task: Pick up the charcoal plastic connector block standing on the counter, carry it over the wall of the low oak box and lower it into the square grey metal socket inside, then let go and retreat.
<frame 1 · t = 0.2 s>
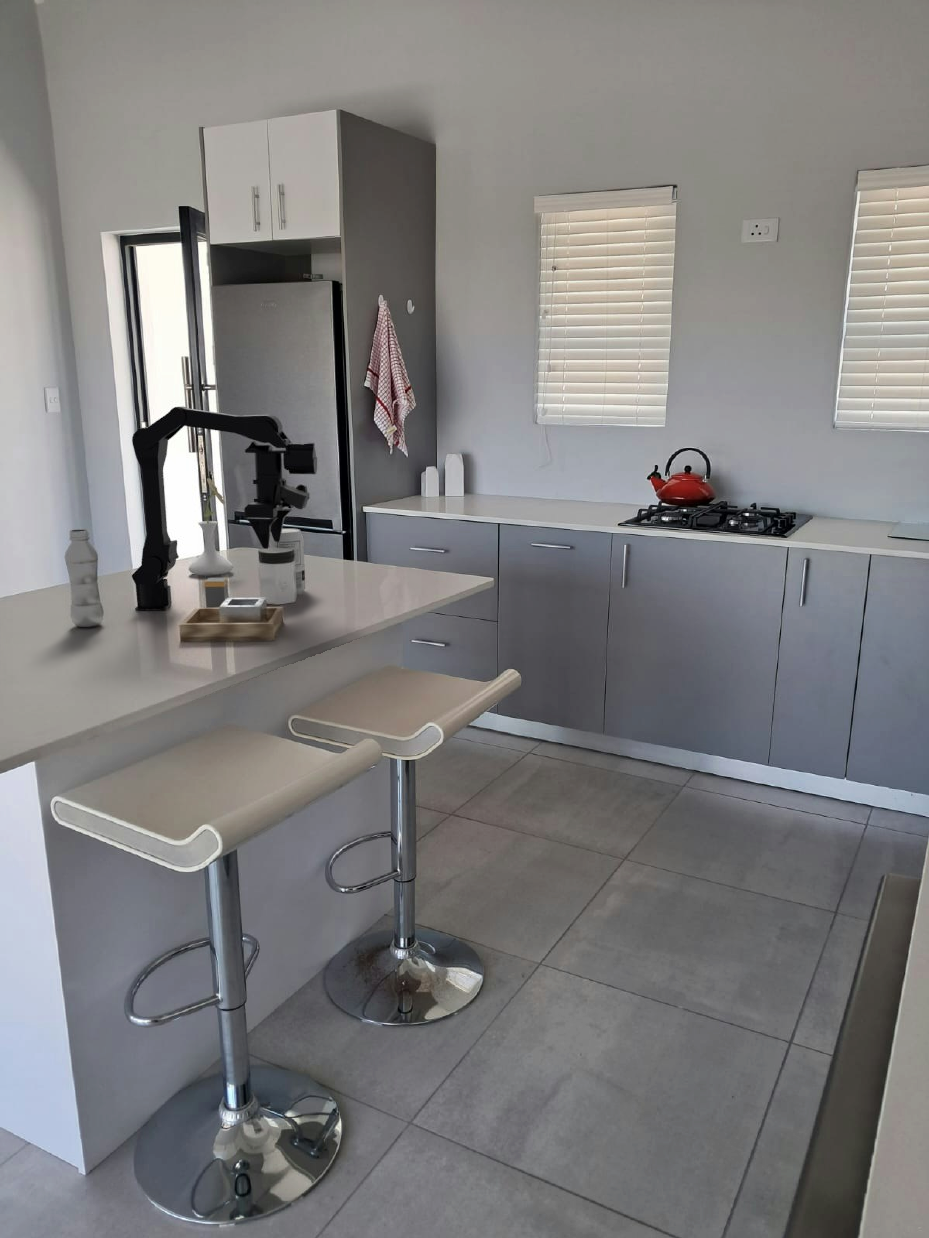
hand: (271, 544, 205), 14 cm above the countertop, tool pointing down, fingers open, 9 cm apart
connector: (218, 615, 201), on the countertop
flower in vase: (212, 574, 245), on the countertop
jar: (278, 601, 215), on the countertop
socket: (244, 630, 189), resting on oak box
oak box: (233, 632, 188), on the countertop
plastic bottle: (88, 627, 192), on the countertop
supplement can: (288, 592, 224), on the countertop
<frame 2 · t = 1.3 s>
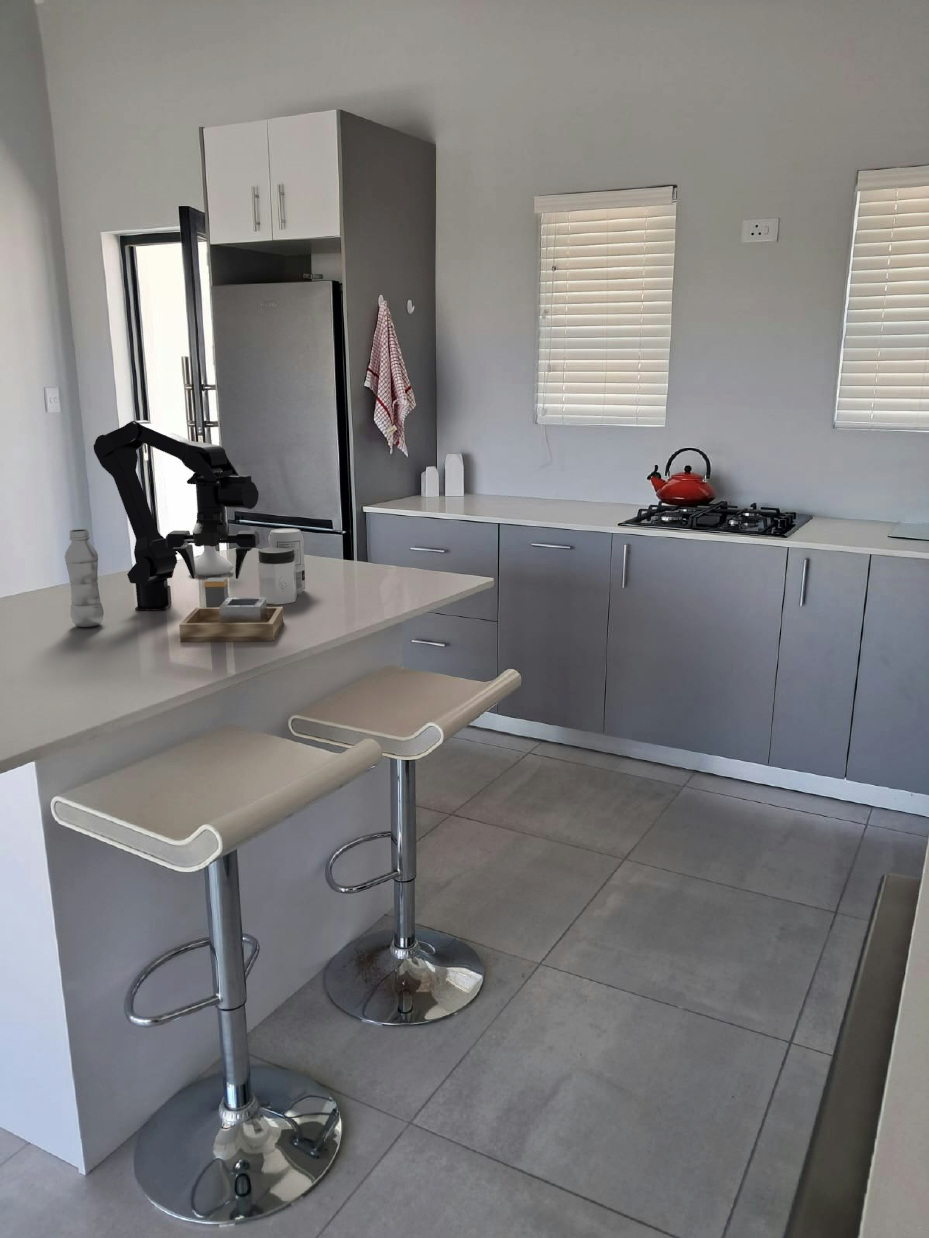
hand: (215, 578, 199), 8 cm above the countertop, tool pointing down, fingers open, 9 cm apart
nothing on the countertop moved.
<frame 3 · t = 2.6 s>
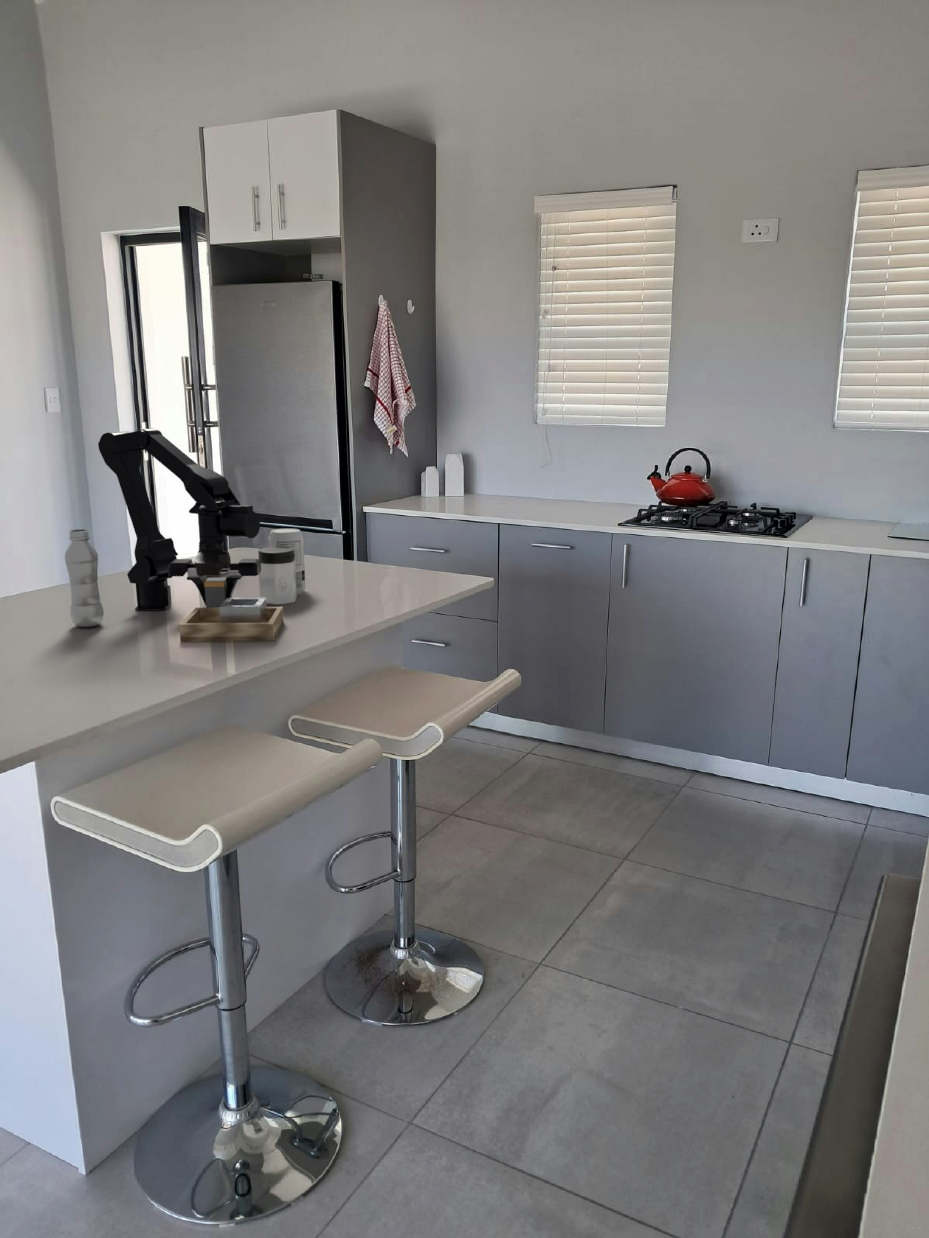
hand: (217, 606, 200), 2 cm above the countertop, tool pointing down, fingers closed on connector, 4 cm apart
connector: (218, 615, 201), on the countertop, touching gripper
everything else where it was.
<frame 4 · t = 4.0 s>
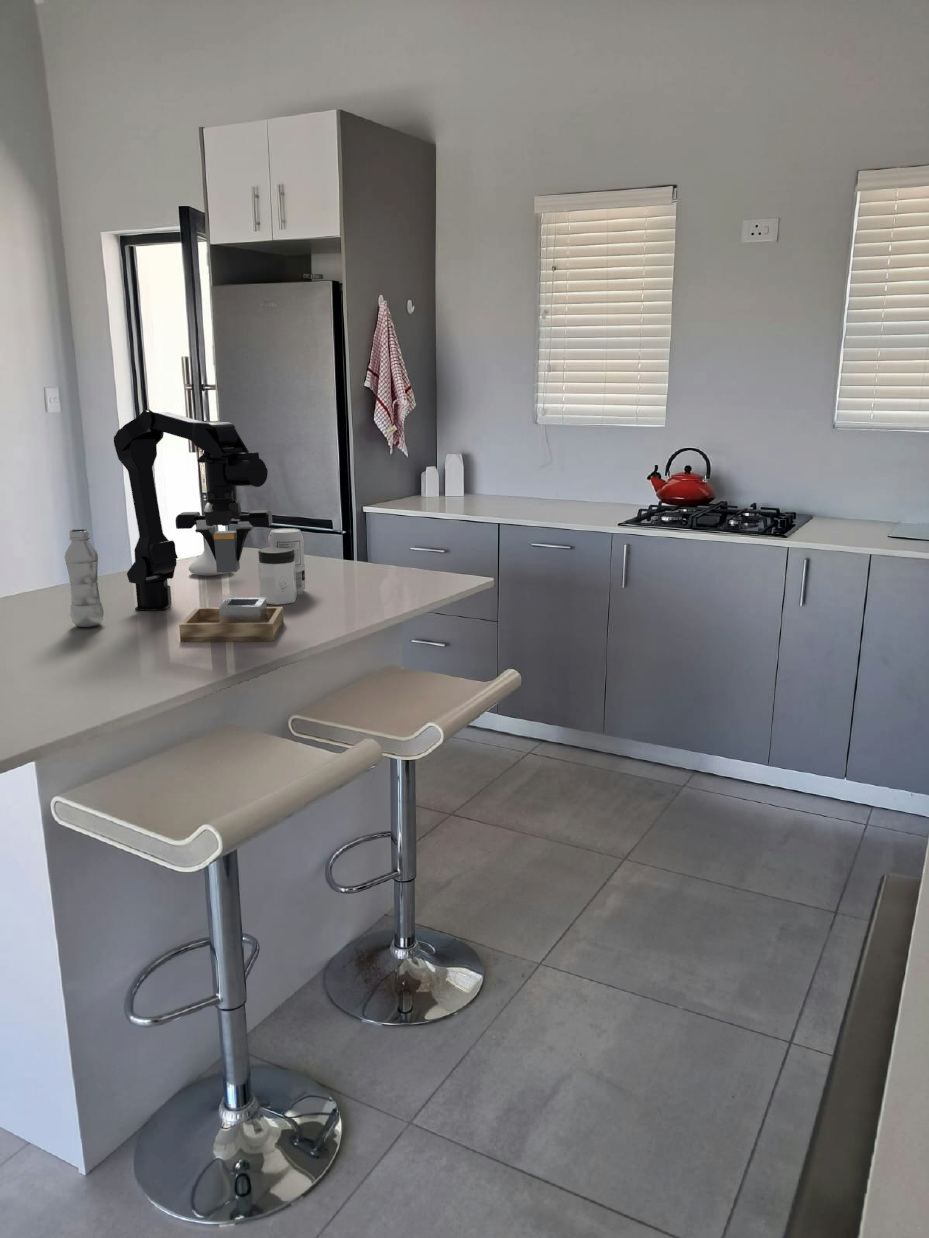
hand: (227, 560, 192), 13 cm above the countertop, tool pointing down, fingers closed on connector, 4 cm apart
connector: (228, 570, 193), point 11 cm above the countertop, touching gripper
everything else where it was.
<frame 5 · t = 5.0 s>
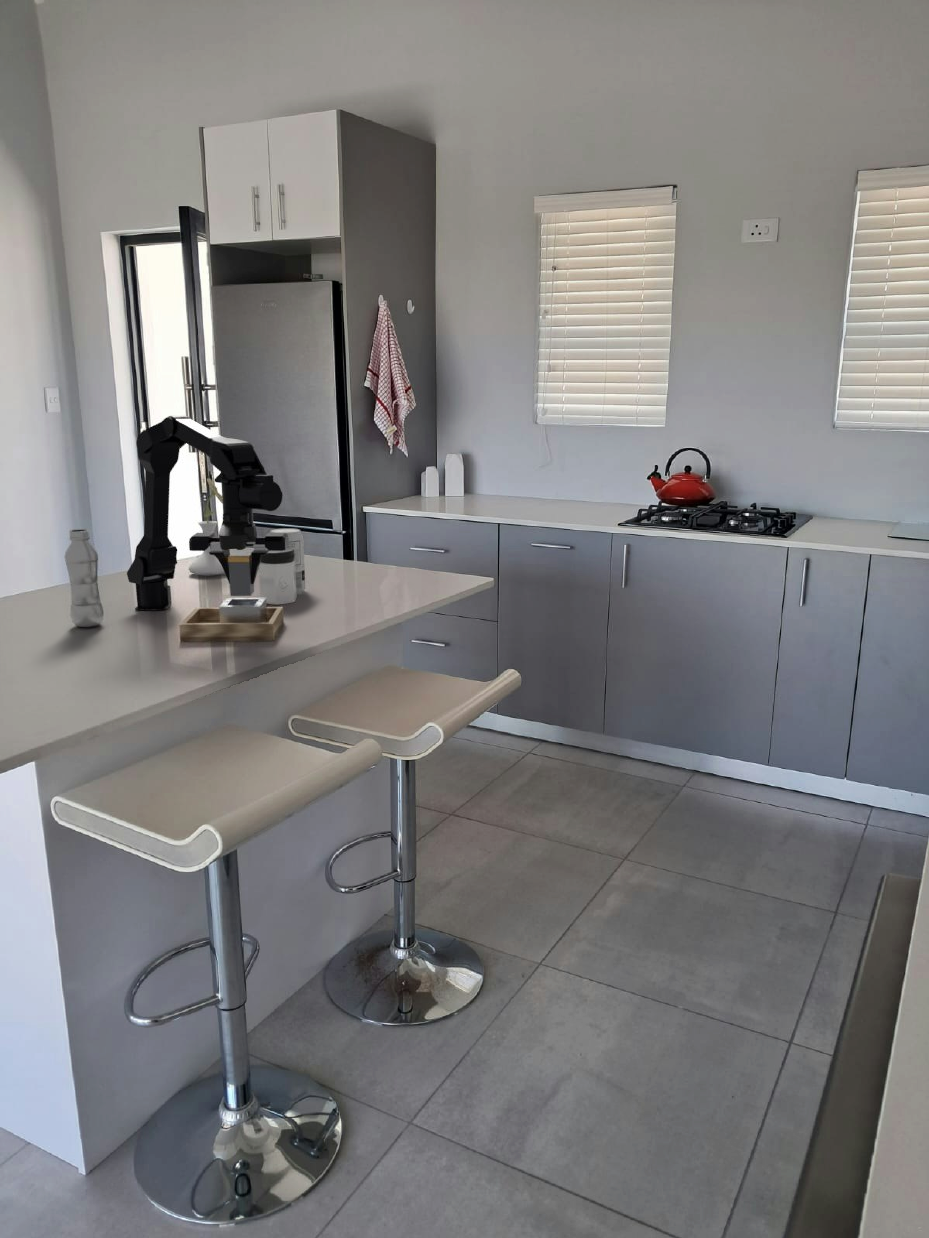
hand: (241, 584, 186), 10 cm above the countertop, tool pointing down, fingers closed on connector, 4 cm apart
connector: (242, 593, 187), point 8 cm above the countertop, touching gripper
everything else where it was.
when the fingers open (6 cm above the countertop, at t = 5.8 s): connector drops 1 cm, resting on socket.
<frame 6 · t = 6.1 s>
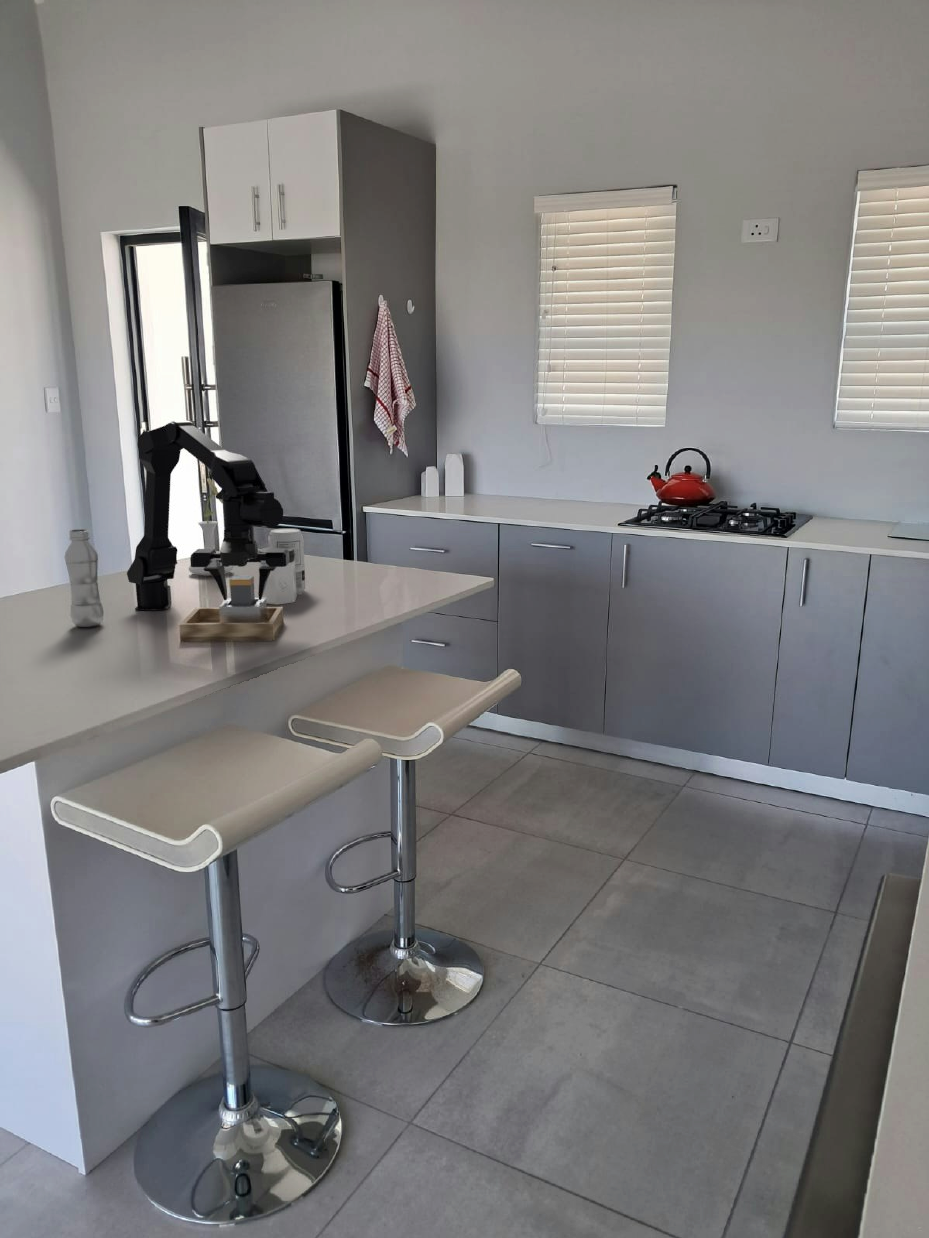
hand: (243, 599, 187), 6 cm above the countertop, tool pointing down, fingers open, 7 cm apart
connector: (243, 616, 188), point 3 cm above the countertop, touching socket
everything else where it was.
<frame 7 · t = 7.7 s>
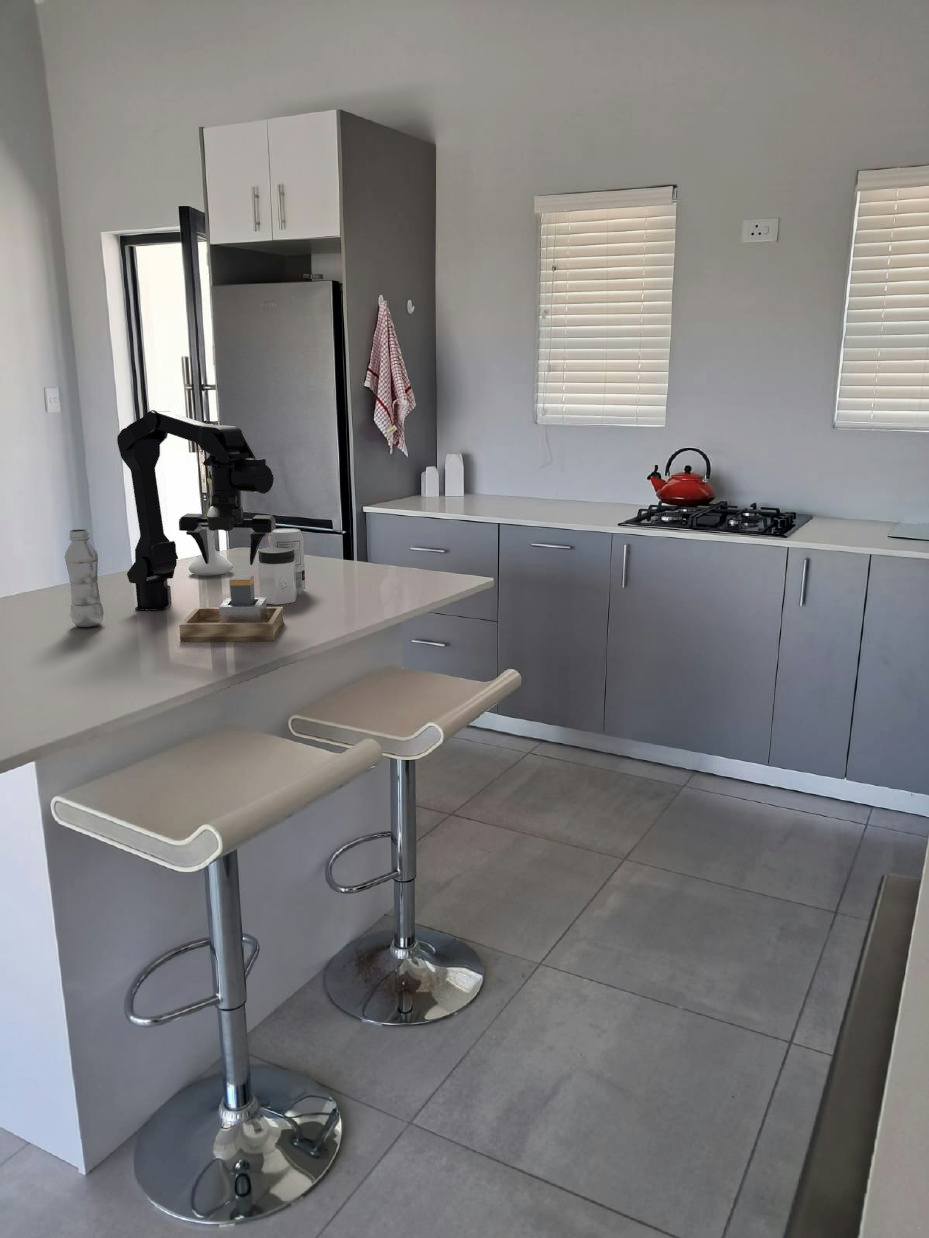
hand: (229, 564, 193), 12 cm above the countertop, tool pointing down, fingers open, 9 cm apart
nothing on the countertop moved.
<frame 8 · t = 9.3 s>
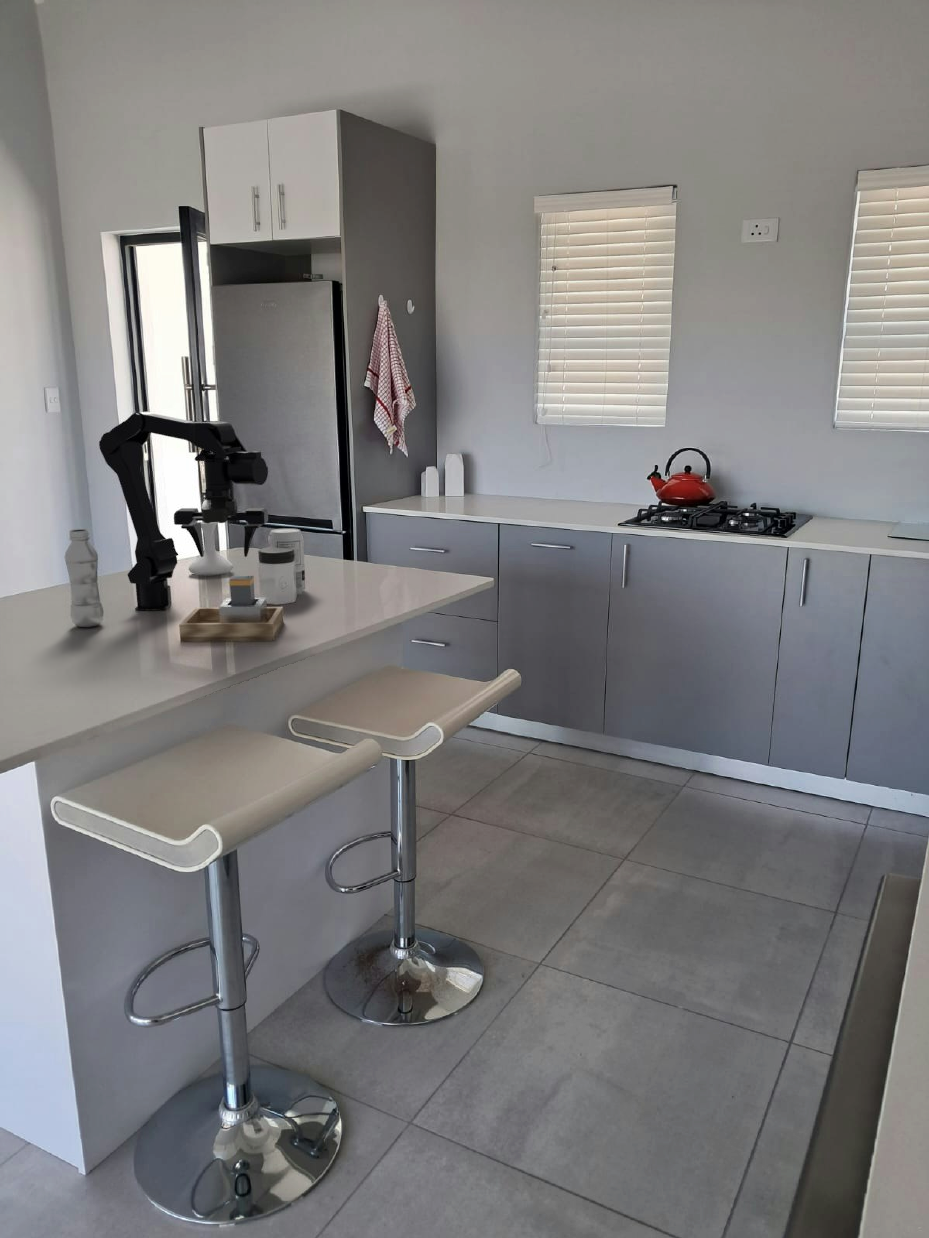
hand: (224, 556, 198), 13 cm above the countertop, tool pointing down, fingers open, 9 cm apart
nothing on the countertop moved.
at the end: connector 0.1 cm off-centre on the socket, point 3.0 cm above the socket's base; connector tilted 0°; the gripper is holding nothing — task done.
